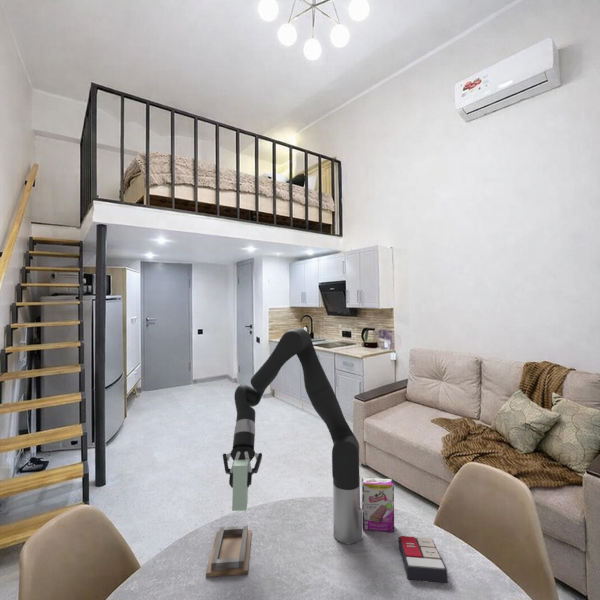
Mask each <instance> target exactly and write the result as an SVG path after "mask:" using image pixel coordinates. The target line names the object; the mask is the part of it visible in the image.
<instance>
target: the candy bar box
mask: <svg viewBox="0 0 600 600" xmlns="http://www.w3.org/2000/svg"><path fill="white" fill-rule="evenodd" d="M394 489H395V485H394V482H393V479H391V478H381V477H380V478H377V477H361V510H362V531H370V532H384V533H395V490H394Z"/></svg>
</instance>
